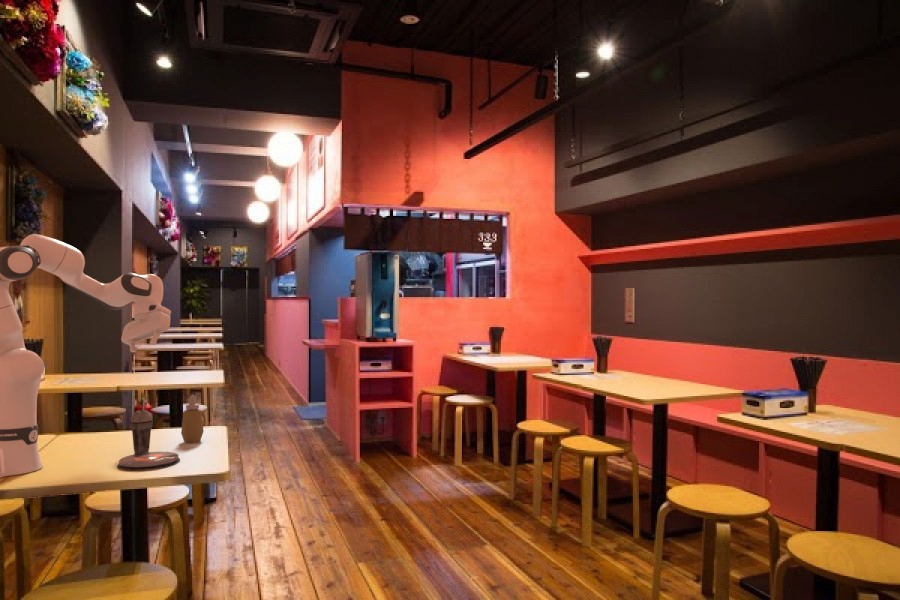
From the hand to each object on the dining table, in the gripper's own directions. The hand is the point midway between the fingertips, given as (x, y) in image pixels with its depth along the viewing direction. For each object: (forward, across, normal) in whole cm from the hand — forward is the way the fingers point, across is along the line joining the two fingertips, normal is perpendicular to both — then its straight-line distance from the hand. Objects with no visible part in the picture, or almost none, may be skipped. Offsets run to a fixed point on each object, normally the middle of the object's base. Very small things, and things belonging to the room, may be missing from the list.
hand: (142, 347), depth 228 cm
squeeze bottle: (+26, -6, +33) cm, 42 cm away
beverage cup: (+34, -9, +13) cm, 38 cm away
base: (+42, +4, +6) cm, 42 cm away
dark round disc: (+42, +4, +6) cm, 42 cm away
